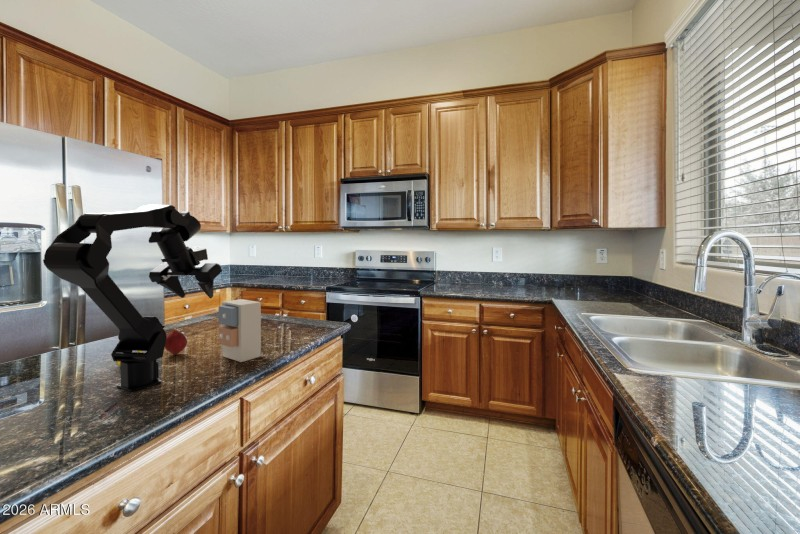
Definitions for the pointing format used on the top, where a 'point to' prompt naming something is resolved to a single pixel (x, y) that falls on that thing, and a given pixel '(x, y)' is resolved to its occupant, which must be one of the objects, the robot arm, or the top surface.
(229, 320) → the upper drawer
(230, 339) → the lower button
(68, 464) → the top surface
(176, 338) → the onion
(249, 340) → the box
